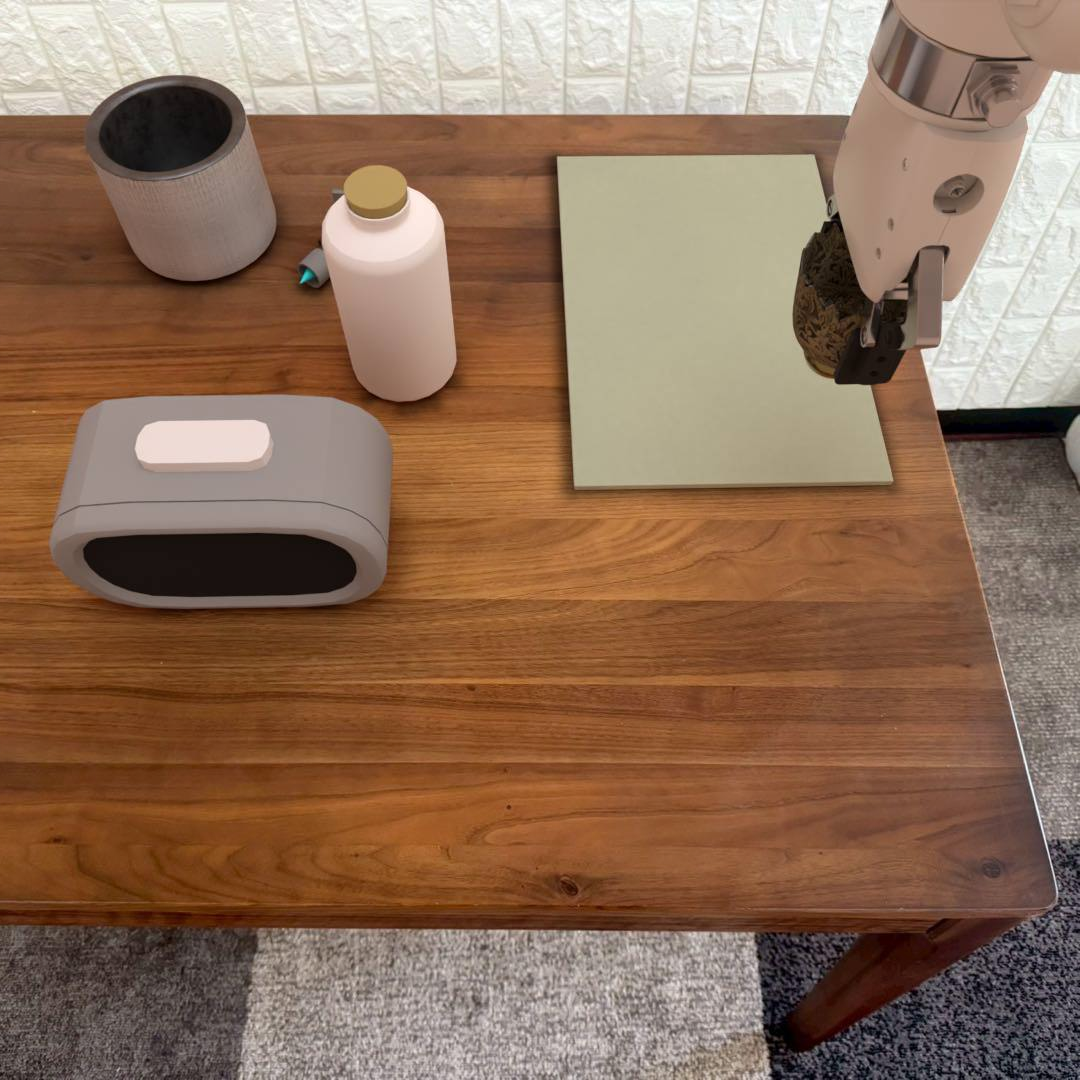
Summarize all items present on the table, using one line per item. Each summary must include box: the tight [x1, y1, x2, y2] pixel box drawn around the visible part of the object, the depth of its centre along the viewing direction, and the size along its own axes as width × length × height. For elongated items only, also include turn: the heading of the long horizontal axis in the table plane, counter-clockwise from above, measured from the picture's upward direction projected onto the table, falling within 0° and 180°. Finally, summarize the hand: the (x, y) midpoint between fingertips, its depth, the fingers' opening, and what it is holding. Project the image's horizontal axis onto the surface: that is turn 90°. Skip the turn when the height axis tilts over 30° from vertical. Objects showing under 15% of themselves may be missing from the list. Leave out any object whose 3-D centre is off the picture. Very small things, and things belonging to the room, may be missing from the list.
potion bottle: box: [321, 164, 457, 403], centre depth 69 cm, size 8×8×18 cm
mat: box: [556, 154, 894, 491], centre depth 80 cm, size 36×24×1 cm, turn 2°
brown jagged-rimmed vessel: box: [792, 223, 908, 379], centre depth 56 cm, size 8×7×8 cm
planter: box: [83, 74, 277, 282], centre depth 79 cm, size 13×12×11 cm
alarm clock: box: [48, 394, 394, 610], centre depth 63 cm, size 21×10×13 cm, turn 91°
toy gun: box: [296, 188, 344, 289], centre depth 80 cm, size 10×12×5 cm
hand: (846, 324), depth 56 cm, fingers closed on brown jagged-rimmed vessel, 7 cm apart
